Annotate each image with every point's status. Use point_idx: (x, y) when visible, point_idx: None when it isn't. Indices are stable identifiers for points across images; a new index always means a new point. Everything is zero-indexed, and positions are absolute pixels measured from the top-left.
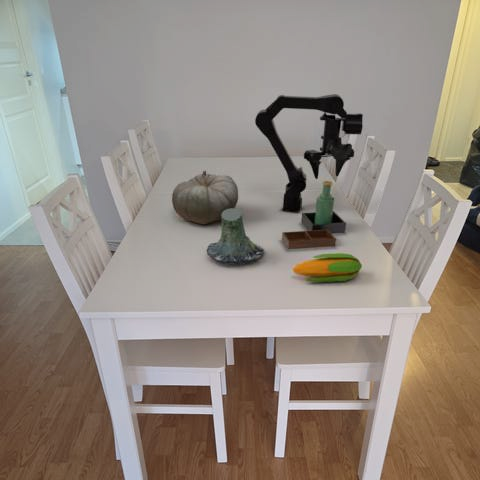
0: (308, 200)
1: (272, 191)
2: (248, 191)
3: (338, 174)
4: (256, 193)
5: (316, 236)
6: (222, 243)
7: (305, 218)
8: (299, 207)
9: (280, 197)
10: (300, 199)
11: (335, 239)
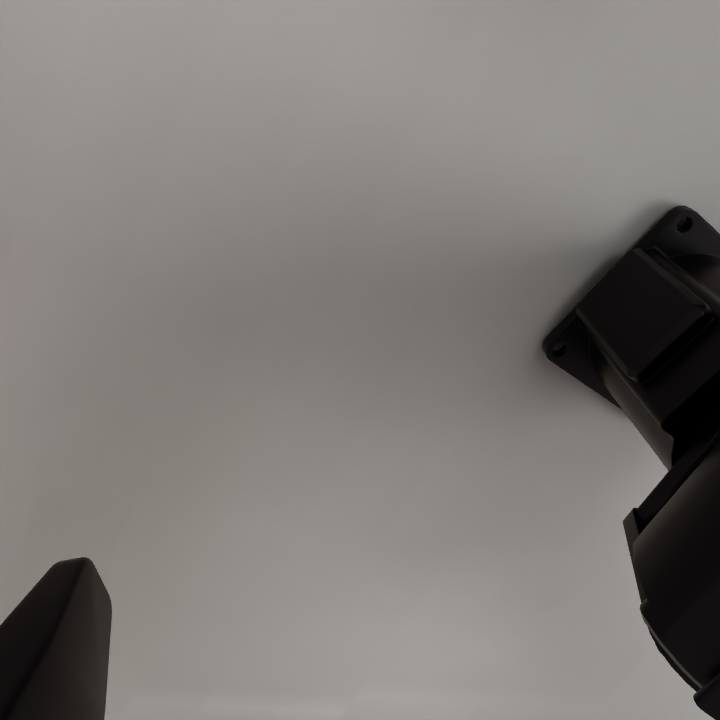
0: (347, 517)
1: (534, 708)
2: (696, 716)
3: (39, 599)
4: (672, 684)
5: None
6: None
7: None
8: (654, 260)
9: (554, 604)
10: (704, 312)
11: None
